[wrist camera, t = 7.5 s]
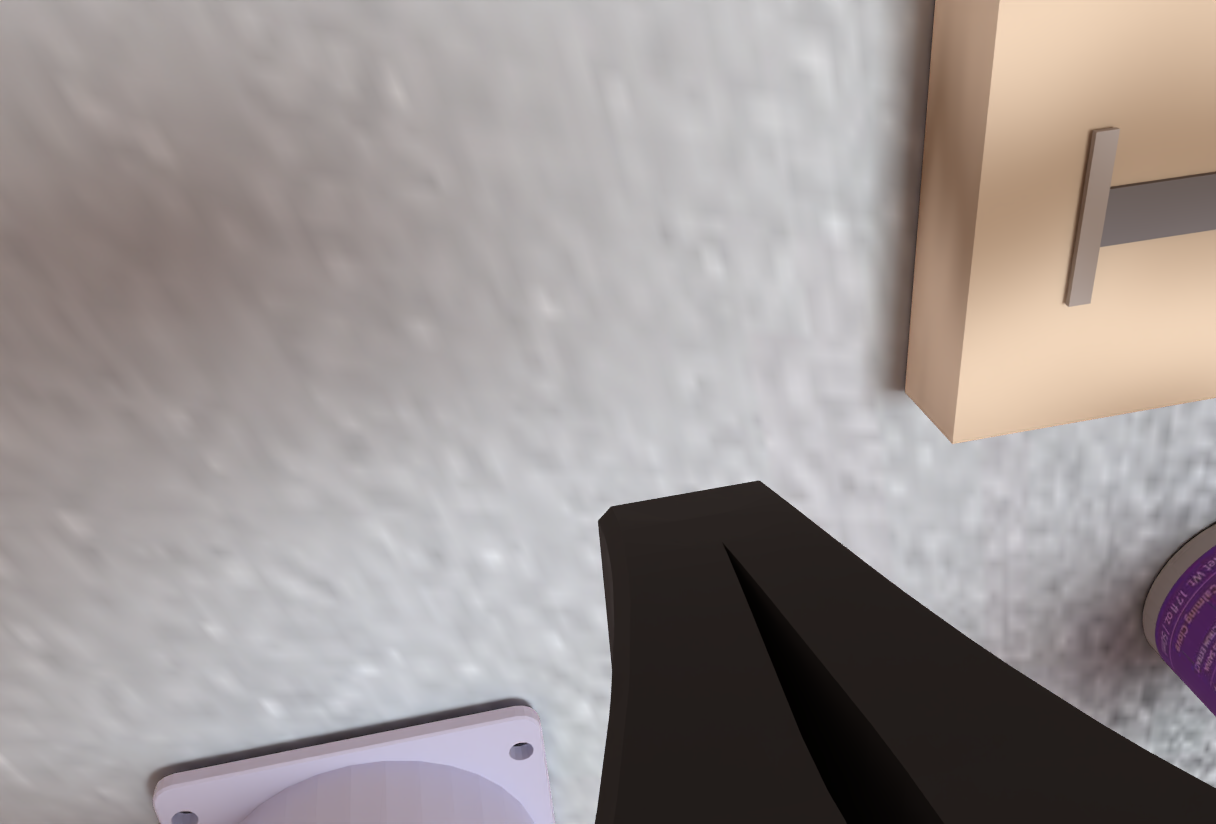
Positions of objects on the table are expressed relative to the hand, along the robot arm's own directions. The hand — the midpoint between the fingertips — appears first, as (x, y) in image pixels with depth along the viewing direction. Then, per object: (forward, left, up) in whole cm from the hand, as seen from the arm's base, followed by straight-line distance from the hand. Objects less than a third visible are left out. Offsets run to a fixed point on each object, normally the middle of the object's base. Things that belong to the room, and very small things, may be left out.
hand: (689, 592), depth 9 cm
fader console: (-1, -14, -10) cm, 17 cm away
